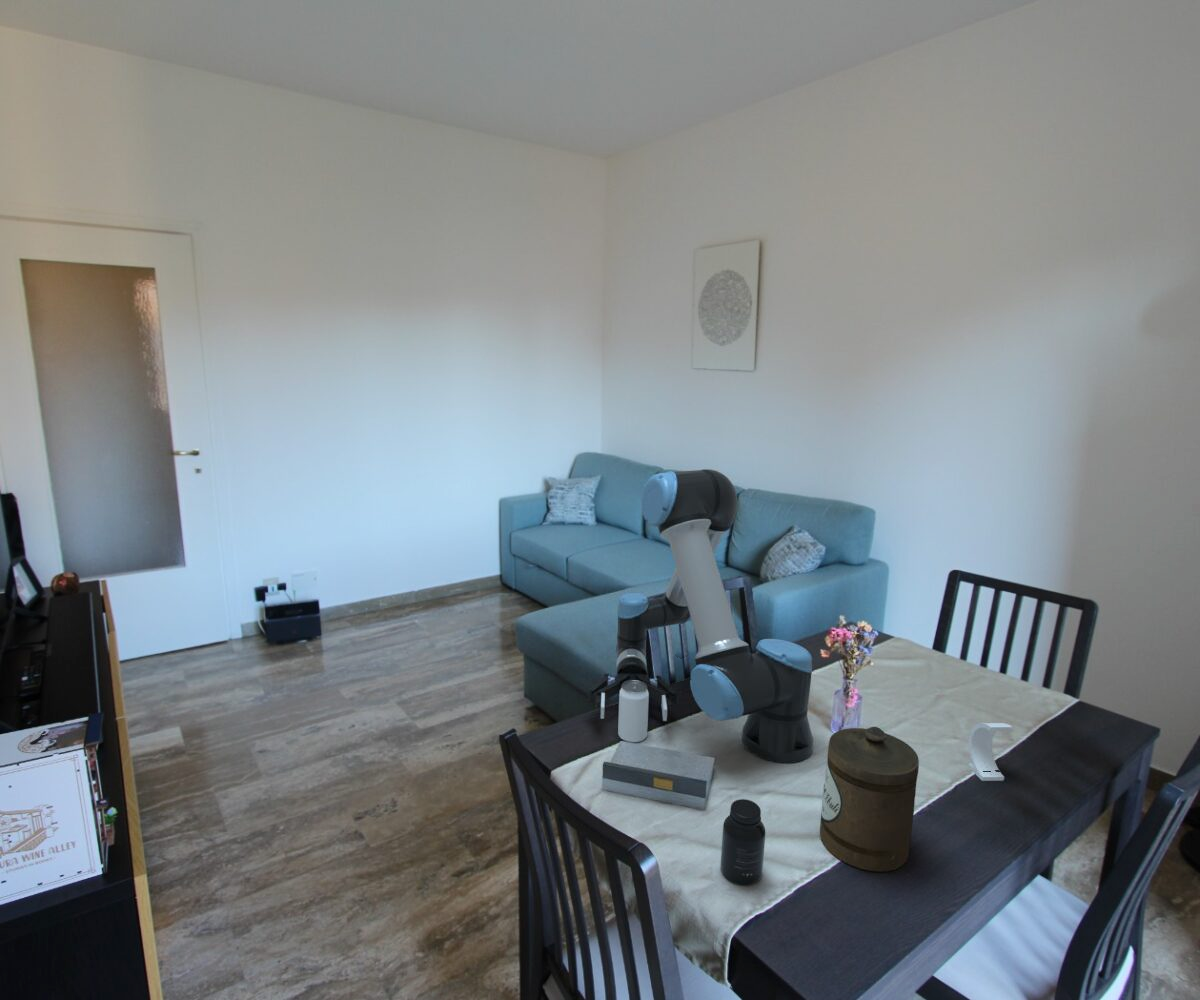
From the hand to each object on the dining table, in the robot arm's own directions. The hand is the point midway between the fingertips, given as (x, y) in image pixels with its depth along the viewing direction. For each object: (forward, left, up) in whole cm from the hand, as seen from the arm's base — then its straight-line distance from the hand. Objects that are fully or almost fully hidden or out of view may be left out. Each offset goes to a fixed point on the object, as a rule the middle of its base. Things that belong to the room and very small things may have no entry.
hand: (633, 714), depth 152 cm
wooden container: (-46, +18, -7) cm, 50 cm away
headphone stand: (-72, -13, -7) cm, 74 cm away
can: (+1, -3, -7) cm, 8 cm away
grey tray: (-8, +11, -7) cm, 15 cm away
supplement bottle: (-26, +32, -7) cm, 42 cm away
